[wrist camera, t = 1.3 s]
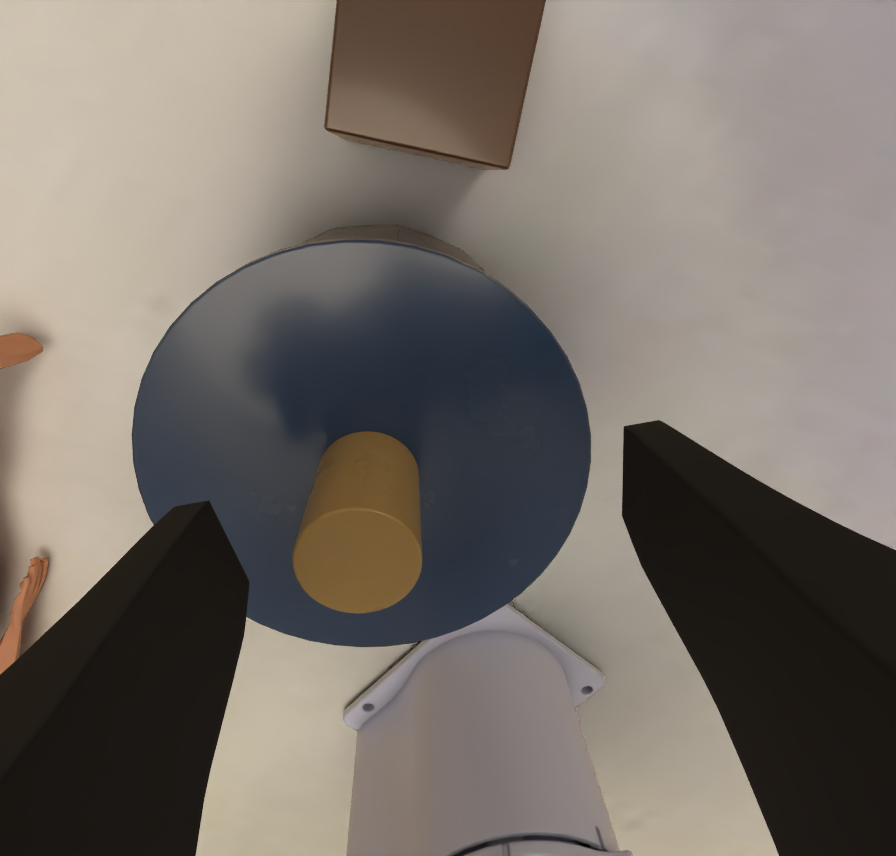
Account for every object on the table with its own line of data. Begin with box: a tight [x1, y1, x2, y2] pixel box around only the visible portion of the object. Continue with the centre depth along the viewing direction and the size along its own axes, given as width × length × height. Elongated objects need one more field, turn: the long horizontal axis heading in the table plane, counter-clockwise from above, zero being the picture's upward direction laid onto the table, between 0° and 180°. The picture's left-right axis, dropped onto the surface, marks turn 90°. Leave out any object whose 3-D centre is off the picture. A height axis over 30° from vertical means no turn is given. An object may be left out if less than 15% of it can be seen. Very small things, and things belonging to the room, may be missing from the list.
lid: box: [132, 238, 591, 647], centre depth 13 cm, size 11×11×4 cm
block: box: [324, 0, 546, 170], centre depth 15 cm, size 4×4×4 cm
